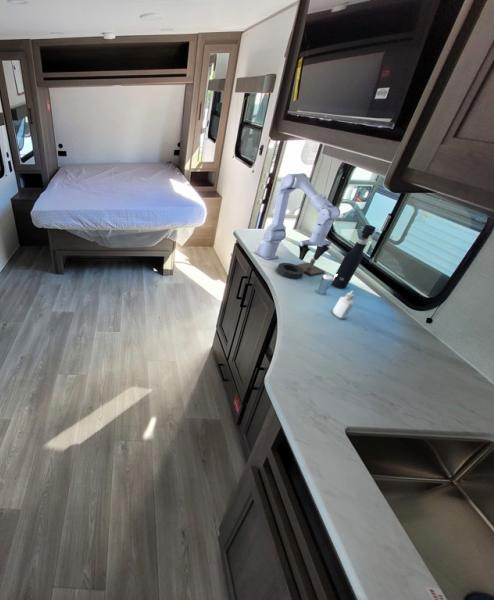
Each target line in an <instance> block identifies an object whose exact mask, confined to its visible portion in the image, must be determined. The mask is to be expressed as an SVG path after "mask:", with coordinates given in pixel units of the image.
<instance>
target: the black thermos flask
mask: <svg viewBox="0 0 494 600" xmlns="http://www.w3.org/2000/svg"><path fill="white" fill-rule="evenodd" d="M376 229H377V228H376V226H374V225H369V224H366V225H364V227H363V229H362V230H361V234H362V235H361V236H360V237H359V238H358V240H357V241H356V242H355V244H354V246H353V247H352V248H351V249H350V250H349V251H348V252H347V253H346V255H345V256H344V257H343V259H342V261H341V263H340V265H339V267H338V269H337V271H336V272H335V274H334V276H336V275H337V274H338V275H337V276H336V277H335V278H334V281H333V282H332V284H331V285H330V286H333V287H334V288H336V289H341V290H344V289H347V286H348V285H349V283H350V282H351V279H352V278H353V276H354V275H355V272H356V271H357V269H358V267H359V265H360V264H361V263H362V260H363V256H364V250H365V248H366V246H367V243H368V239H369V238H370V237H371V236H373V234H374V232H375V231H376Z"/></svg>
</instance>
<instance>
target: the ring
mask: <svg viewBox="0 0 494 600" xmlns="http://www.w3.org/2000/svg"><path fill="white" fill-rule="evenodd" d="M297 265H298V264H294V263H291V262H280V263H279V264H278V265H277V267H276V270H275V271H276V272H277V274H279V275H280V276H282V277H283V278H287V279H289V280H298V279H299V280H300V279H302V277H303V275H304V274H305V273H304V270H303V269H302V268H301V267H299V266H297Z"/></svg>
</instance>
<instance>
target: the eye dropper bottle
mask: <svg viewBox="0 0 494 600" xmlns="http://www.w3.org/2000/svg"><path fill="white" fill-rule="evenodd" d="M354 293H355V291H354V290H351V291H350V292H347V293H346V295H345V296H344V295H343V296H340V297H339V299H338V301H337V302H336V303H335V306H334V307H333V309H332V313H333V314H334V316H335V317H337V318H339V319H342V320H343V319H346V318H347V317H348V315H349V313H350V312H351V310H352V308H353V306H354V302H353V301H354V300H353V299H354V297H355V294H354Z"/></svg>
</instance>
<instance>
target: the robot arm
mask: <svg viewBox="0 0 494 600" xmlns="http://www.w3.org/2000/svg"><path fill="white" fill-rule="evenodd" d="M298 189H299V190H301V191H302V192H303V193H304V194H305V195H306V196H307V197H308V198H309V199H310V205H311V206H312V207H313V209H314V210H315V211H316V212H317V220H316V224H315V227H314V229H313V231H312V233H311V236H310V238H309V239H305V240H300V241H299V243H298V248H299V256H298V259H299V260H301V261H304V259H305V257H306V255H307V253H309V252H310V250H311V248H310V247H316V249H315V252H314V255H313V259H315V260H316V261H318V260H319V259H320V257H321V256H323V255H324V253H326V252H327V251H329V250H330V246H331V245H332V242H331V241H329V240H326V238H327V236H328V233H329V232H330V230H331V228H332V226H333V223H334V221H335V220H337V219H338V218H340V216H341V209H340V208H339V206H335V205H333V203H332V202H330V201H329V200H328V199H327V195H326V194H319V193H318V191H317V189H315V186H313V184H312V183H311V182H310V177H309V176H308V175H307V174H306V173H304V172H301V173H287V174H285V175H284V176H283V177H281V180H280V185H279V187H278V189H277V195H276V200H275V205H274V210H273V215H272V221H271V223H270V224H269V225H268V226H267V227H266V230H265V232H264V233H263V238H262V239H261V240H259V243H258V246H257V249H256V251H255V252H254V253H255V254H257V255H259V256H260V257H262V258H263V259H265V260H267V261H268V260H272V259H273V260H274V259H278V258H279V257H278V256H277V255H276V253H277V250H278V248H279V246H280V244H281V242H282V241H283V240H284V239H286V235H287V232H286V231H287V227H286V226H285V224H284V222H285V217H286V212H287V207H288V203H289V198H290V194H291V193H292V192H293V191H295V190H298Z"/></svg>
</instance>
